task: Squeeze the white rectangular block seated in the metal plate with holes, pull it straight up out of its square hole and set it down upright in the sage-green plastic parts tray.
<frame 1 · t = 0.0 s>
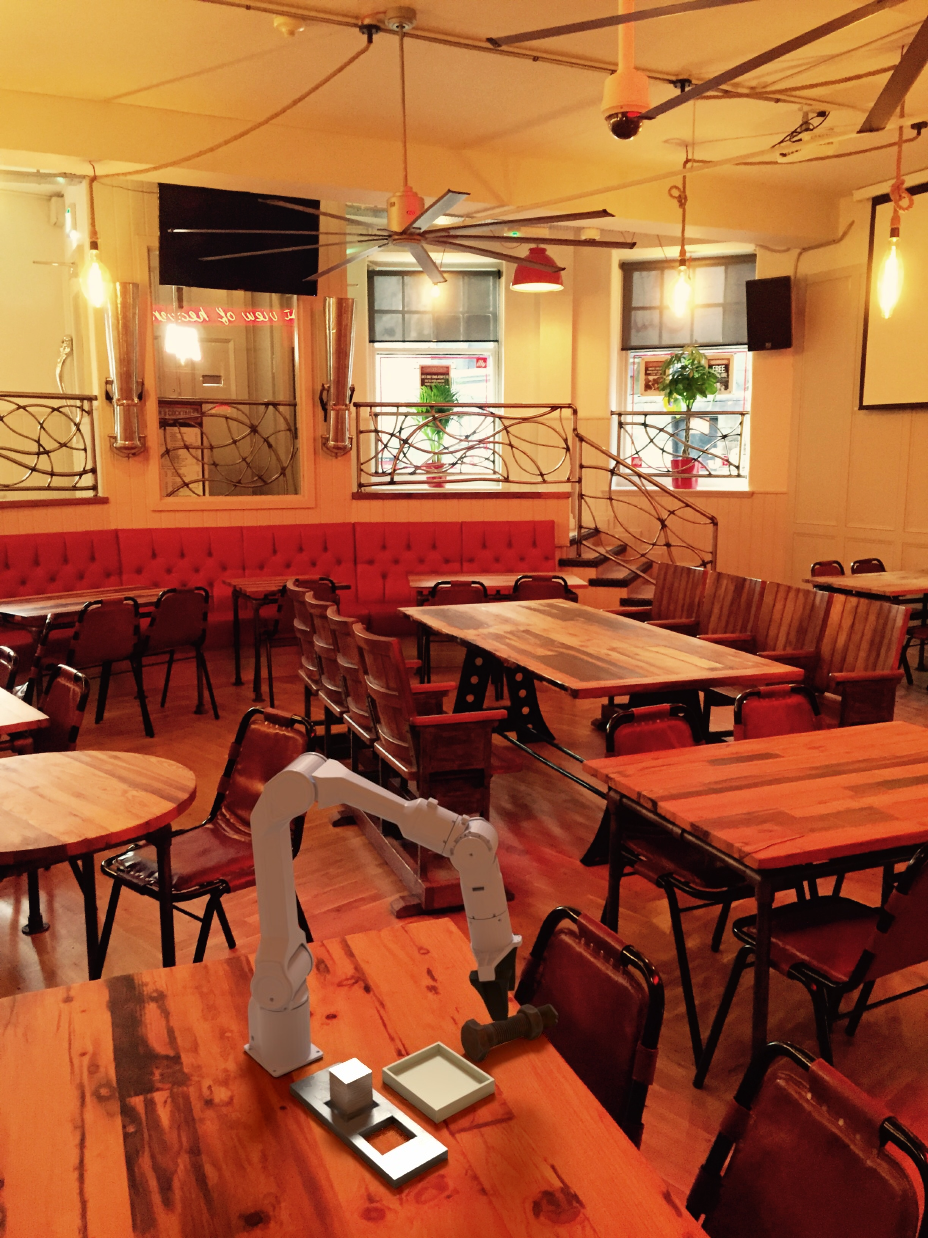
hand: (504, 1004, 133), 11 cm above the table, tool pointing down, fingers open, 7 cm apart
bolt: (513, 1044, 143), on the table
metal plate with holes: (364, 1124, 125), on the table
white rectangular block: (351, 1113, 127), resting in metal plate with holes
tray: (438, 1086, 133), on the table
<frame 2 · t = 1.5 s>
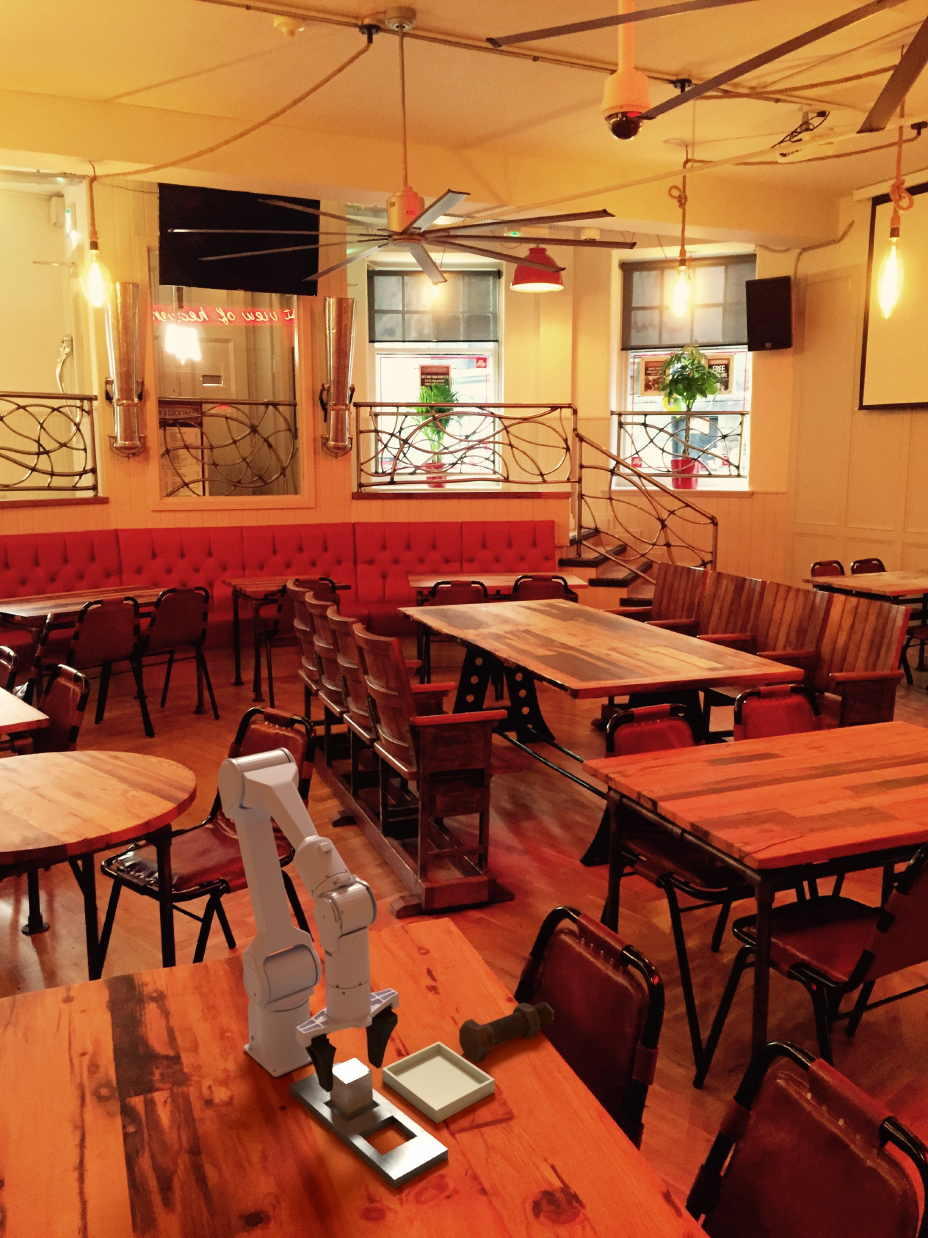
hand: (351, 1076, 127), 5 cm above the table, tool pointing down, fingers open, 7 cm apart
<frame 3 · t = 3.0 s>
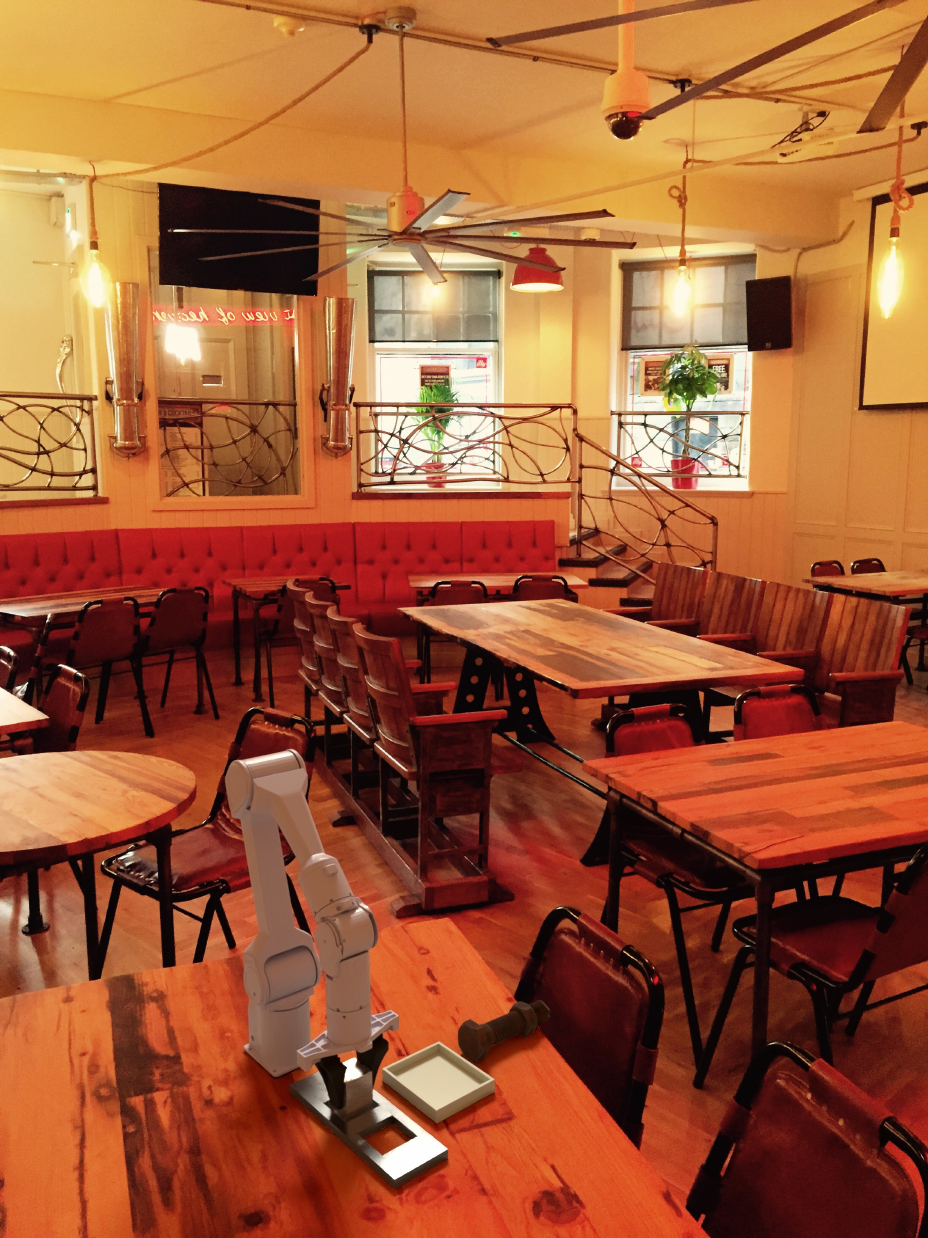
hand: (351, 1098, 127), 2 cm above the table, tool pointing down, fingers closed on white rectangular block, 4 cm apart
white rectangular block: (351, 1113, 127), resting in metal plate with holes, touching gripper
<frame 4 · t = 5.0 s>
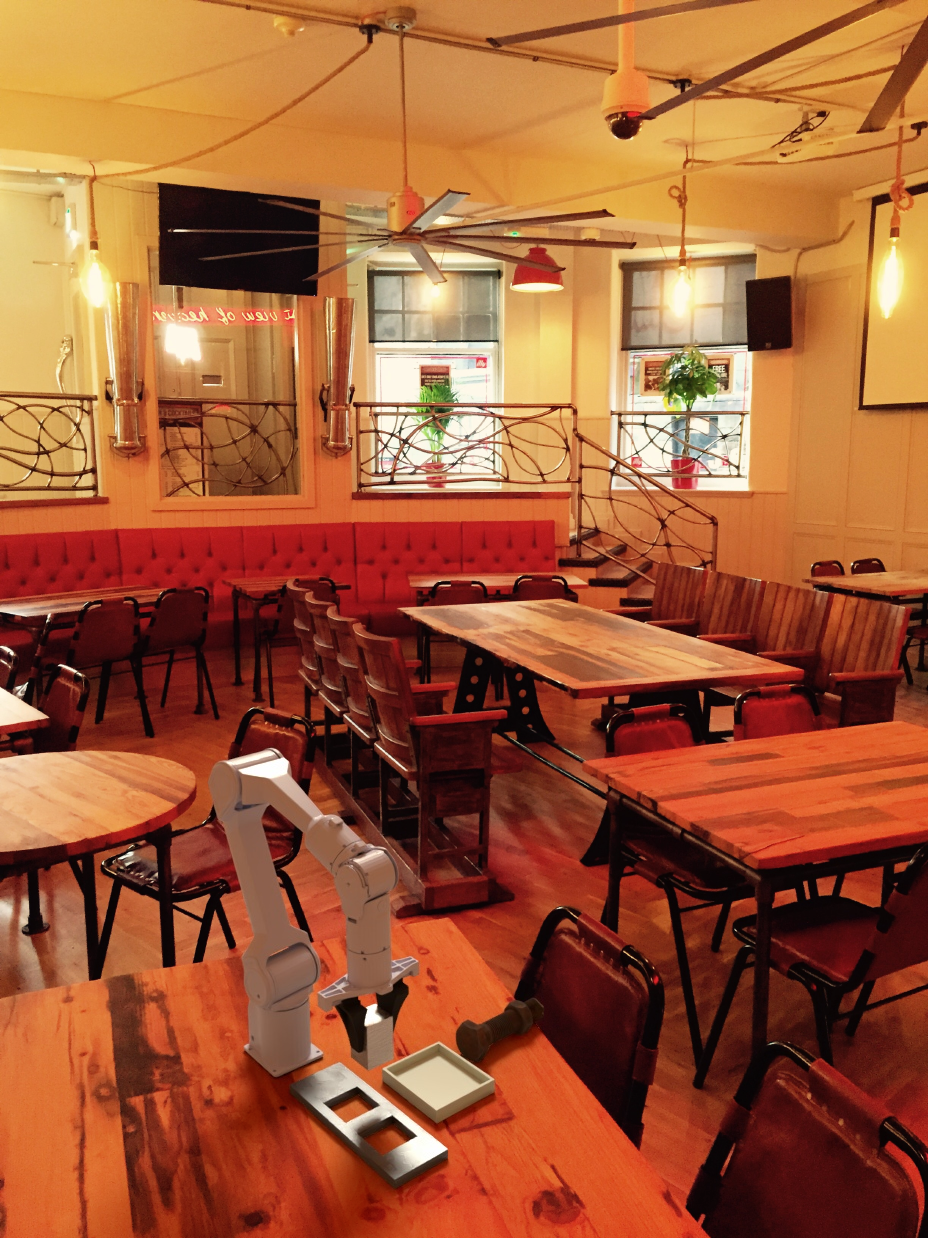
hand: (371, 1042, 127), 9 cm above the table, tool pointing down, fingers closed on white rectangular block, 4 cm apart
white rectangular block: (372, 1058, 128), point 7 cm above the table, touching gripper
when the fingers open (4 cm above the table, at t = 7.3 s): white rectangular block drops 1 cm, resting on tray.
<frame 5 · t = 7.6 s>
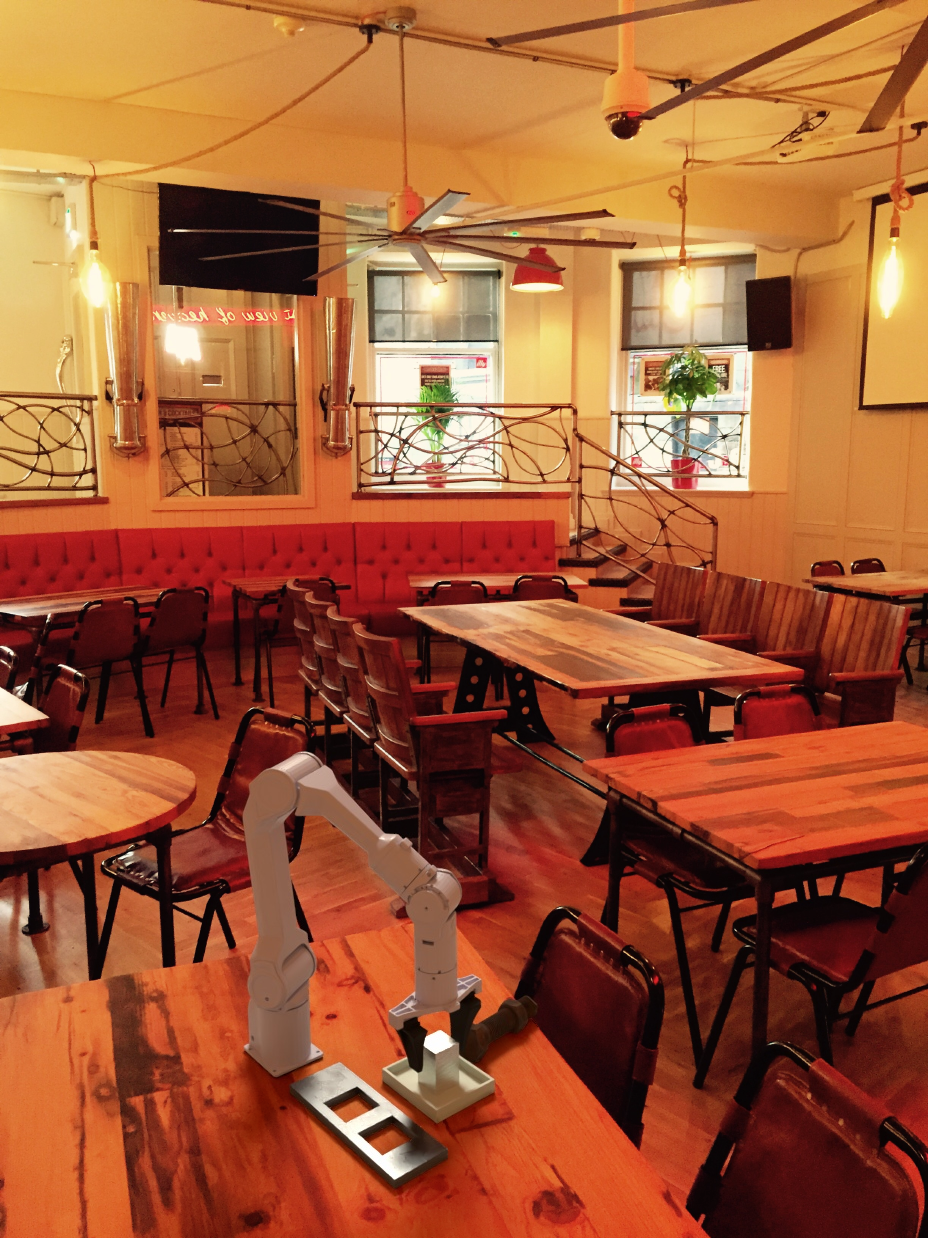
hand: (437, 1058, 132), 4 cm above the table, tool pointing down, fingers open, 7 cm apart
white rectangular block: (438, 1083, 133), point 1 cm above the table, touching tray
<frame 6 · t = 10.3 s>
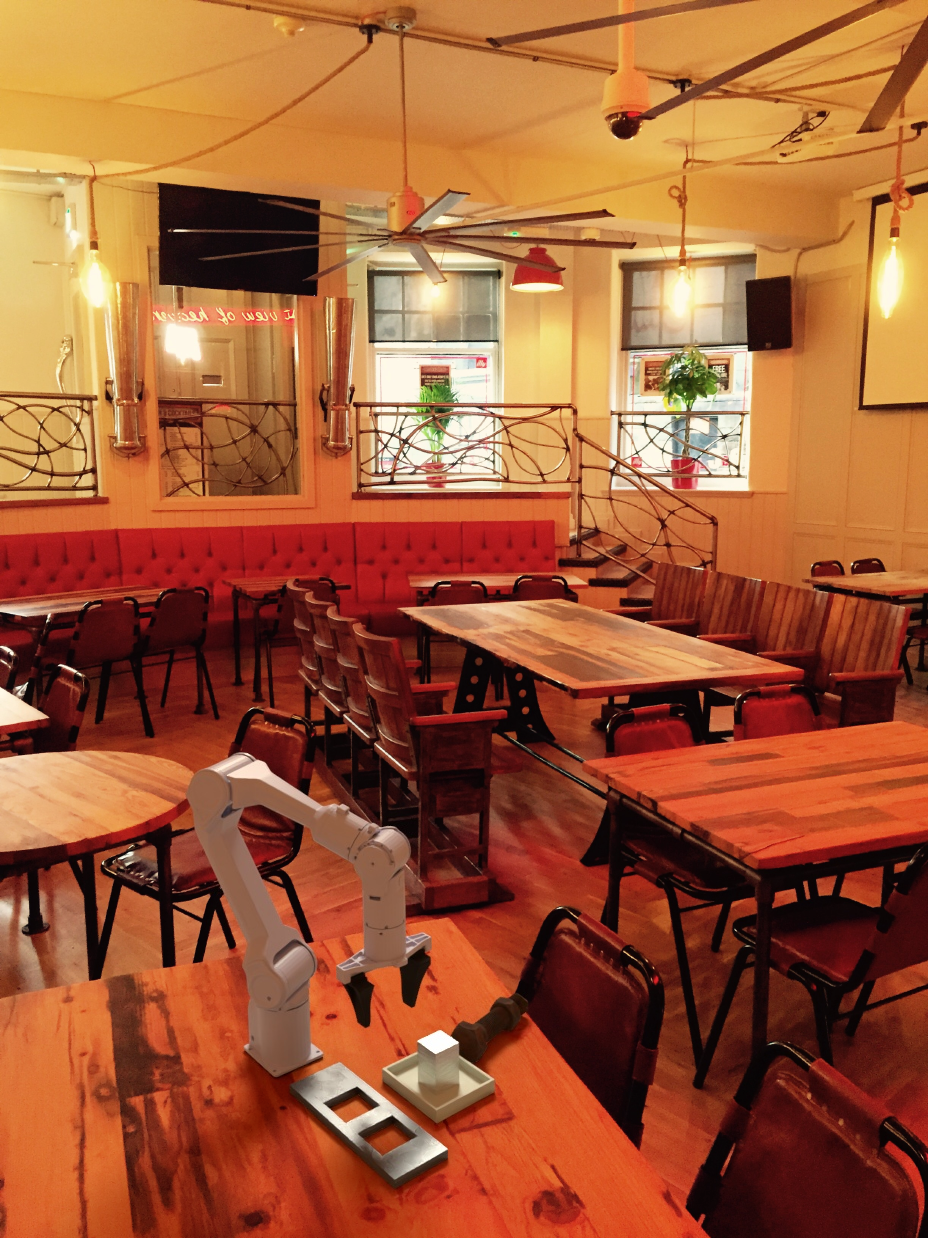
hand: (386, 1014, 134), 9 cm above the table, tool pointing down, fingers open, 7 cm apart
at the end: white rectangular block 0.2 cm off-centre on the tray, point 0.6 cm above the tray's base; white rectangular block tilted 0°; the gripper is holding nothing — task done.
